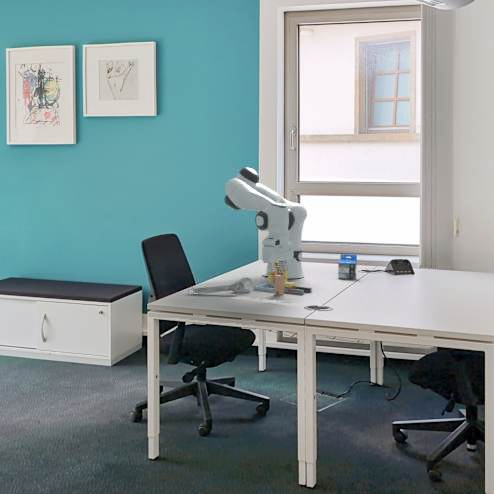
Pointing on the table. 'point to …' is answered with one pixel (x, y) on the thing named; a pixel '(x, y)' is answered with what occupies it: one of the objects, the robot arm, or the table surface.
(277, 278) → the pinkish tan block
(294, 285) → the chip
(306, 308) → the table surface
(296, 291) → the channel
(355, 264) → the label tape cartridge
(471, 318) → the table surface
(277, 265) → the candy box
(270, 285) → the tray
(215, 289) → the wrench
